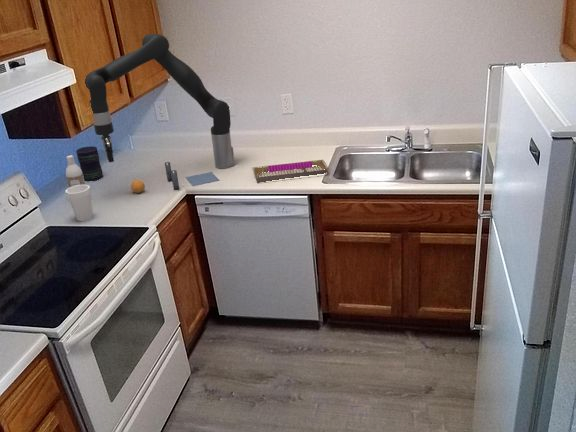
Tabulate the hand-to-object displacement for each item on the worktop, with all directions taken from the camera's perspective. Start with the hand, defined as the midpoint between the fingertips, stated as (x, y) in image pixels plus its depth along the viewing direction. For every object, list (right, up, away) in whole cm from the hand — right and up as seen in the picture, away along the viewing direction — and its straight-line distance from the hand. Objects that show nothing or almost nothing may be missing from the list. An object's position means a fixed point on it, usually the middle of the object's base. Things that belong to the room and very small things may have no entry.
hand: (111, 160), depth 229 cm
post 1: (+21, -7, +21) cm, 31 cm away
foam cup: (-7, -25, -11) cm, 28 cm away
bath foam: (-17, -16, +9) cm, 25 cm away
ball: (+9, -11, +9) cm, 17 cm away
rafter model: (+79, -5, +19) cm, 81 cm away
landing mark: (+37, -7, +21) cm, 43 cm away
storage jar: (-19, -6, +31) cm, 37 cm away
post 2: (+27, -12, +11) cm, 31 cm away
